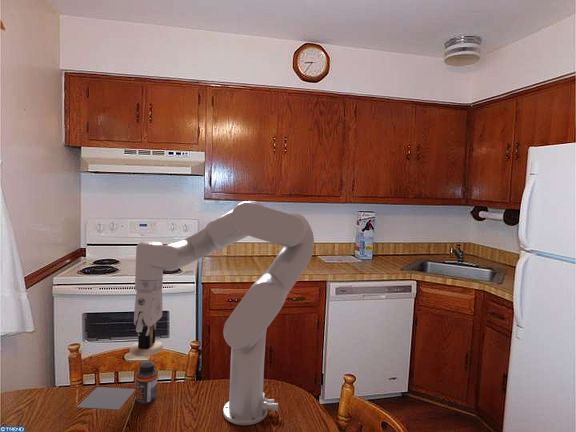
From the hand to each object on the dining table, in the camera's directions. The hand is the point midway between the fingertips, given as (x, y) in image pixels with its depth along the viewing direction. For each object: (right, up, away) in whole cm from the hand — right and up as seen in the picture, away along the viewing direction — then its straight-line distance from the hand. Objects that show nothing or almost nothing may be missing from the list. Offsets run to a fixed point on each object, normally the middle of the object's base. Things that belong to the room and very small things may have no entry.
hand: (146, 345), depth 108 cm
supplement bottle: (-1, -17, +1) cm, 17 cm away
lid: (0, -1, 0) cm, 1 cm away
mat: (-11, -16, 0) cm, 20 cm away
